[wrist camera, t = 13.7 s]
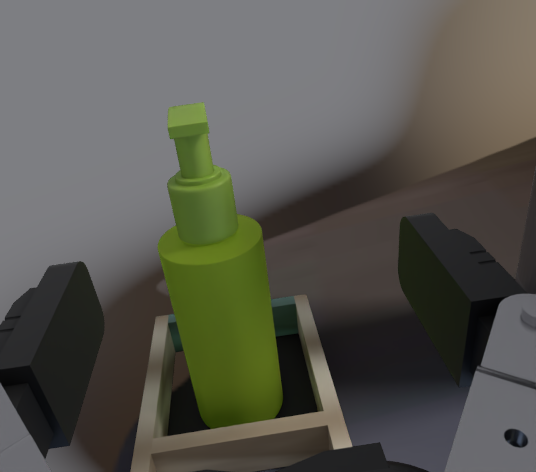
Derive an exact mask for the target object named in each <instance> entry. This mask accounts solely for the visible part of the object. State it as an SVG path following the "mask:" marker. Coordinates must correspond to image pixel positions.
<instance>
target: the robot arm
mask: <svg viewBox="0 0 536 472" xmlns="http://www.w3.org/2000/svg"><path fill="white" fill-rule="evenodd" d="M398 274H399V280H400V284H401V288H402V290H403V292H404V294H405V296H406V297H407V299H408V301H409V303H410V304H411V306H412V308H413V309H414V311H415V313H416V315H417V316H418V318H419V320H420V321H421V323H422V325H423V327H424V328H425V330H426V332H427V333H428V335H429V337H430V339H431V340H432V342H433V344H434V345H435V347H436V349H437V351H438V352H439V354H440V356H441V357H442V359H443V361H444V363H445V364H446V366H447V368H448V369H449V371H450V373H451V375H452V376H453V378H454V380H455V382H456V383H457V385H458V387H466V386H471V387H470V391H469V394H468V397H467V400H466V404H465V407H464V410H463V413H462V417H461V420H460V423H459V427H458V430H457V433H456V436H455V440H454V443H453V446H452V449H451V453H450V456H449V459H448V462H447V466H446V469H445V472H536V168H535V174H534V180H533V185H532V191H531V196H530V202H529V207H528V213H527V219H526V224H525V230H524V235H523V241H522V247H521V252H520V258H519V263H518V268H517V273H516V279H514V278H513V277H512V276H511V275H510V274H509V273H508V272H507V271H506V270H505V269H504V268H503V267H502V266H501V265H500V264H499V263H498V262H496V261H495V259H494V258H493V257H492V256H491V255H490V254H489V253H488V252H486V249H485V248H484V247H483V246H482V245H481V244H480V243H479V242H478V241H477V240H476V239H475V238H474V237H472V236H470V235H468V234H466V233H464V232H462V231H460V230H458V229H452V230H449V229H448V228H447V227H446V226H445V225H444V224H443V223H442V222H441V221H440V219H439V218H438V217H437V216H436V215H435V214H434V213H427V214H420V215H413V216H406V217H403V218H402V219H401V222H400V234H399V258H398ZM103 334H104V316H103V312H102V308H101V305H100V303H99V300H98V297H97V294H96V291H95V289H94V286H93V283H92V280H91V277H90V275H89V272H88V269H87V267H86V265H85V264H84V263H83V262H81V261H80V262H73V263H66V264H58V265H52V266H49V267H48V269H47V271H46V272H45V274H44V276H43V278H42V279H41V281H40V283H39V285H38V287H37V288H30V289H29V290H28V291H27V292H26V293H24V294H23V295H22V296H21V297H20V298H19V299H18V300H16V301H15V302H14V303H13V305H12V307H11V309H10V310H9V312H8V313H7V315H6V317H5V321H3V322H2V324H1V325H0V472H52V471H51V469H50V468H49V466H48V464H47V463H46V461H45V458H46V455H47V452H48V449H50V448H57V447H64V446H70V443H71V440H72V436H73V433H74V430H75V427H76V423H77V420H78V417H79V414H80V410H81V407H82V404H83V400H84V397H85V394H86V390H87V387H88V384H89V380H90V377H91V374H92V371H93V367H94V364H95V361H96V357H97V354H98V351H99V348H100V344H101V341H102V338H103ZM194 472H229V471H218V470H207V469H206V470H200V471H194ZM276 472H429V471H426V470H424V469H421V468H418V467H415V466H412V465H408V464H404V463H399V462H393V461H386V458H385V455H384V452H383V449H382V447H381V444H380V442H379V443H373V444H367V445H360V446H354V447H347V448H341V449H334V450H328V451H323V452H321V453H318V454H316V455H314V456H311V457H309V458H307V459H304V460H302V461H299V462H297V463H295V464H292V465H290V466H287V467H285V468H283V469H280V470H278V471H276Z"/></svg>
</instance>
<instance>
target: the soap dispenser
mask: <svg viewBox="0 0 536 472" xmlns="http://www.w3.org/2000/svg"><path fill="white" fill-rule="evenodd" d="M168 131H169V136H170V139H174V141H175V145H176V150H177V155H178V160H179V165H180V171H179V172H177V173H176V175H174V176H173V177H172V178H170V179H169V181H168V183H167V185H168V186H167V187H168V192H169V196H170V200H171V205H172V209H173V213H174V218H175V223H176V226H174V227H172V228H171V229H169V230H168V231H167V232H166V233H165V234H164V235H163V236H162V237H161V239H160V240H159V243H158V252H159V256H160V260H161V264H162V268H163V271H164V275H165V279H166V283H167V287H168V291H169V295H170V299H171V302H172V307H173V311H174V315H175V318H176V322H177V326H178V330H179V334H180V338H181V342H182V346H183V350H184V354H185V358H186V362H187V365H188V369H189V373H190V377H191V381H192V385H193V389H194V393H195V397H196V401H197V405H198V409H199V412H200V416H201V418H202V420H203V421H204V423H205V424H206V425H207V426H208V427H209V428H211V429H215V428H221V427H228V426H234V425H240V424H246V423H252V422H259V421H265V420H271V419H274V418H275V417H276V416H277V414H278V413H279V411H280V409H281V406H282V402H283V391H282V383H281V376H280V368H279V360H278V352H277V344H276V337H275V329H274V321H273V313H272V306H271V298H270V290H269V282H268V275H267V267H266V259H265V251H264V244H263V236H262V229H261V227H260V225H259V224H258V223H257V222H256V221H255V220H254V219H252V218H250V217H247V216H243V215H239V214H237V213H236V206H235V199H234V193H233V186H232V180H231V175H230V173H229V172H228V171H227V170H226V169H224V168H220V167H218V166H216V165H213V163H212V157H211V152H210V146H209V140H208V133H209V127H208V122H207V116H206V111H205V106H204V103H203V102H202V103H194V104H187V105H181V106H174V107H169V109H168Z"/></svg>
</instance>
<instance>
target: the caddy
mask: <svg viewBox="0 0 536 472" xmlns="http://www.w3.org/2000/svg"><path fill="white" fill-rule="evenodd" d="M271 306H272V313H273V321H274V329H275V337H277V336H284V335H290V334H297V333H299V337H300V341H301V345H302V349H303V353H304V357H305V361H306V365H307V369H308V373H309V377H310V381H311V385H312V389H313V394H314V398H315V402H316V406H317V410H318V412H315V413H308V414H302V415H296V416H290V417H283V418H277V419H271V420H265V421H259V422H252V423H246V424H240V425H234V426H228V427H221V428H215V429H209V430H203V431H197V432H190V433H184V434H178V435H172V436H167V434H168V424H169V414H170V403H171V393H172V383H173V373H174V362H175V352H179V351H184V350H183V346H182V342H181V338H180V334H179V330H178V326H177V322H176V318H175V315H174V314H171V315H165V316H158V317H156V321H155V326H154V333H153V339H152V344H151V351H150V356H149V363H148V369H147V375H146V381H145V387H144V393H143V399H142V405H141V412H140V417H139V423H138V429H137V435H136V441H135V447H134V453H133V459H132V465H131V471H130V472H194V471H200V470H206V469H207V470H218V471H229V472H255V471H261V470H267V469H273V468H279V467H285V466H290V465H292V464H295V463H297V462H299V461H302V460H304V459H307V458H309V457H311V456H314V455H316V454H318V453H321V452H323V451H328V450H334V449H341V448H347V447H352V444H351V441H350V437H349V434H348V431H347V428H346V424H345V421H344V418H343V414H342V411H341V408H340V404H339V401H338V398H337V395H336V391H335V388H334V385H333V381H332V378H331V375H330V371H329V368H328V365H327V362H326V358H325V355H324V352H323V348H322V345H321V342H320V339H319V335H318V332H317V329H316V325H315V322H314V319H313V315H312V312H311V309H310V306H309V302H308V299H307V296H306V294H304V295H298V296H291V297H284V298H278V299H271Z"/></svg>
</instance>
